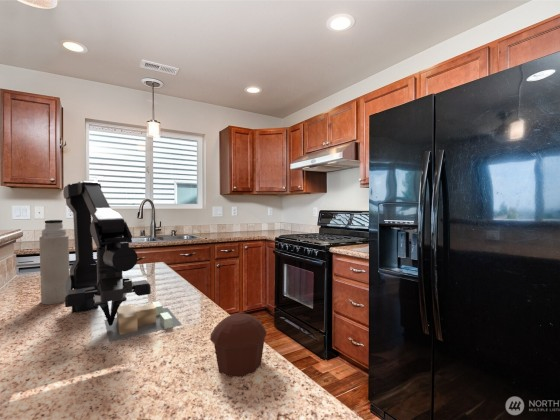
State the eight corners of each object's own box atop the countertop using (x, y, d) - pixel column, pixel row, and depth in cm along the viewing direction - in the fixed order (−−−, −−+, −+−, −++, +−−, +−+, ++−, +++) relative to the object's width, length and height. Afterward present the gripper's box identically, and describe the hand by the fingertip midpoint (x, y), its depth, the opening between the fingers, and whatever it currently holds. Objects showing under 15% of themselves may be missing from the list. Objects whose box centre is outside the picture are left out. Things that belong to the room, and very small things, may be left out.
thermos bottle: (59, 295, 107) (57, 219, 106) (75, 298, 104) (73, 219, 104) (35, 302, 99) (33, 220, 99) (51, 305, 97) (49, 220, 96)
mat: (109, 345, 69) (109, 342, 69) (104, 322, 83) (104, 320, 83) (182, 327, 79) (182, 324, 79) (167, 309, 92) (167, 307, 92)
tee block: (119, 334, 73) (119, 318, 73) (116, 321, 82) (116, 307, 81) (158, 326, 78) (158, 311, 78) (151, 314, 86) (151, 300, 86)
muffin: (241, 345, 69) (241, 303, 69) (277, 361, 62) (277, 314, 62) (198, 368, 60) (198, 319, 60) (235, 389, 53) (235, 334, 53)
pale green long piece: (164, 329, 76) (164, 319, 76) (152, 310, 90) (151, 302, 90) (172, 327, 78) (172, 317, 77) (158, 309, 91) (158, 301, 91)
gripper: (63, 276, 64) (64, 347, 64) (154, 266, 75) (155, 327, 75) (65, 267, 73) (66, 329, 74) (146, 259, 84) (147, 314, 84)
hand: (110, 325), depth 76 cm, fingers closed
